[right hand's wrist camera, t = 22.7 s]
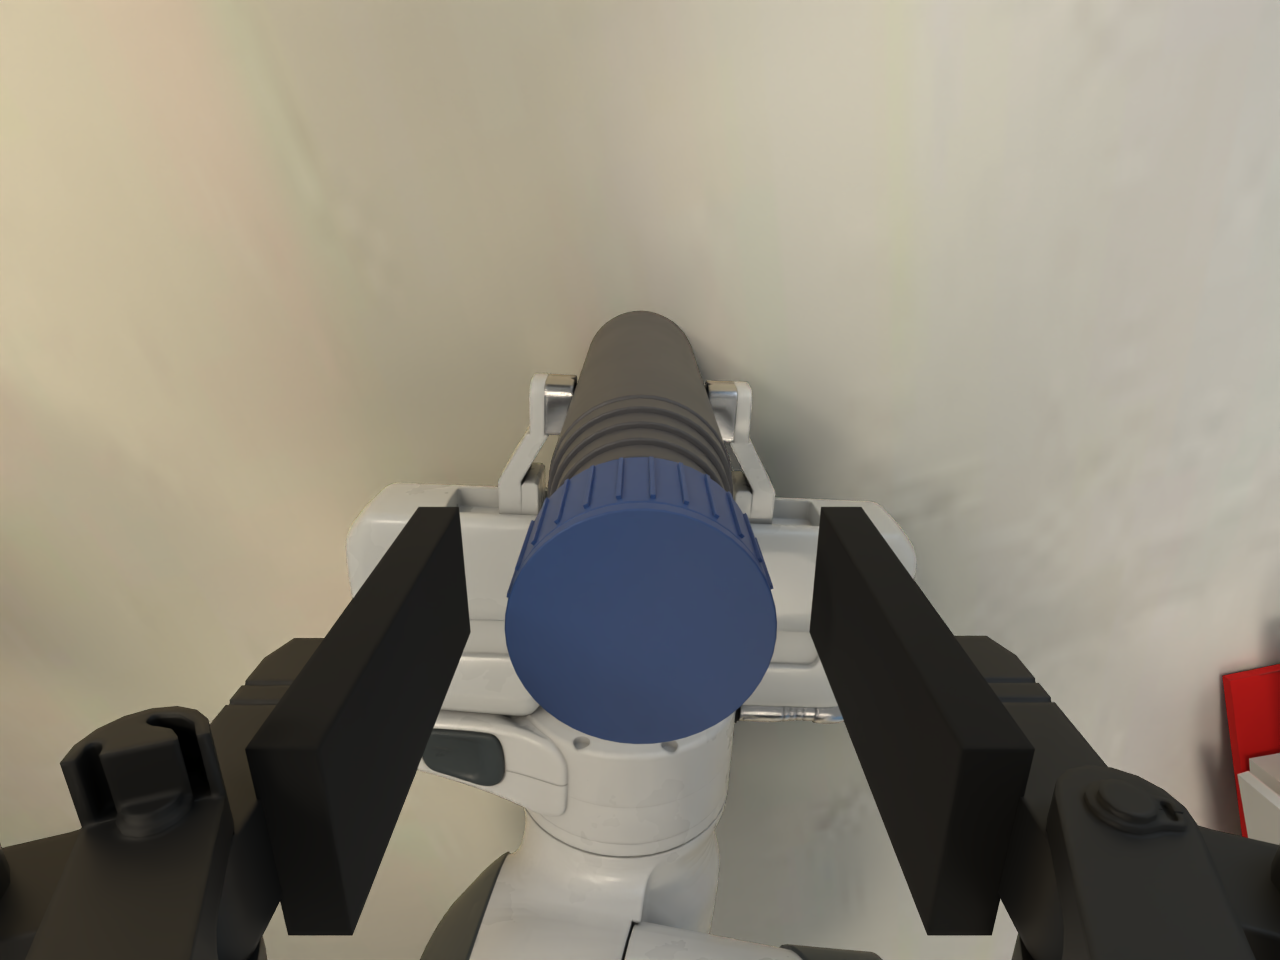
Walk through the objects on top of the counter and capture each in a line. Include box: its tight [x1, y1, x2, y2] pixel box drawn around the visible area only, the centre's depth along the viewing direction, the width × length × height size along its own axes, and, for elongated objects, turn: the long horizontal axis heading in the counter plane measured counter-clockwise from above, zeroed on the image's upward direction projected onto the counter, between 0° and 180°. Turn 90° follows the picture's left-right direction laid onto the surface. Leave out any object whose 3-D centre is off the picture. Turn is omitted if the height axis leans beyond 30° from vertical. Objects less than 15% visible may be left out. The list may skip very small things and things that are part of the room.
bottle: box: [548, 311, 733, 498], centre depth 22 cm, size 5×5×20 cm
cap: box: [505, 457, 777, 744], centre depth 13 cm, size 5×5×2 cm
